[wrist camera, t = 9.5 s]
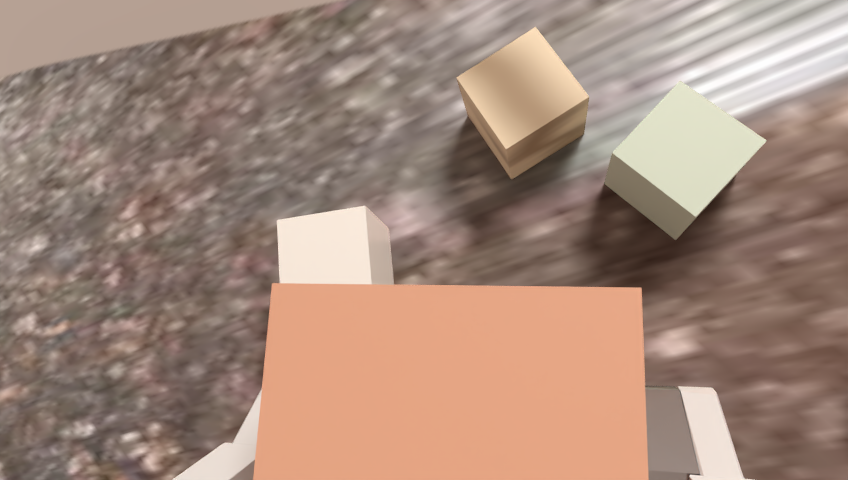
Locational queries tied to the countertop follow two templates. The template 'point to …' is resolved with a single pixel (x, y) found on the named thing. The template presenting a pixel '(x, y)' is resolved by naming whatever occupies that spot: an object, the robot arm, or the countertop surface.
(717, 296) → the countertop surface
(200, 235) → the countertop surface
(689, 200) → the sage block
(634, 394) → the terracotta post
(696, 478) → the robot arm
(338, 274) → the ceramic block
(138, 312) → the countertop surface
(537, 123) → the maple block
